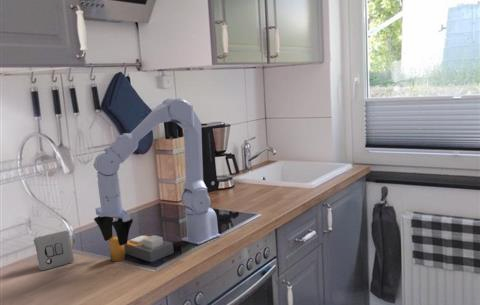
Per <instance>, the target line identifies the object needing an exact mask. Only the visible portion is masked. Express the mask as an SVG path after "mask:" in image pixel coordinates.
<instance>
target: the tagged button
mask: <svg viewBox="0 0 480 305" xmlns="http://www.w3.org/2000/svg"><path fill="white" fill-rule="evenodd" d="M145 238H148V237H145V236H142V235H140V236H136V237H134V238H131V239H129V240H130V241H131V243H133V244H136V245H138V244H141V243H143V239H145Z"/></svg>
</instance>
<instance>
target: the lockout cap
mask: <svg viewBox="0 0 480 305" xmlns="http://www.w3.org/2000/svg"><path fill="white" fill-rule="evenodd" d="M108 243H109V244H108V245H109V253H110V254H109V255H110V261H112V262H122V261H124V260H125V259H126V254H125V249H124V245H122V246H121V245H119V242H118V238H117V235H116V236H112V238H110V239H109V240H108Z"/></svg>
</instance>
